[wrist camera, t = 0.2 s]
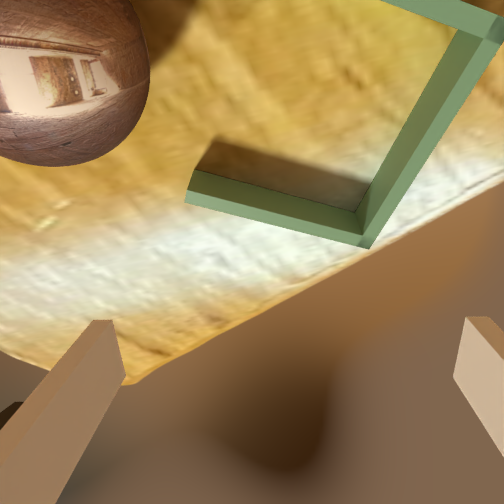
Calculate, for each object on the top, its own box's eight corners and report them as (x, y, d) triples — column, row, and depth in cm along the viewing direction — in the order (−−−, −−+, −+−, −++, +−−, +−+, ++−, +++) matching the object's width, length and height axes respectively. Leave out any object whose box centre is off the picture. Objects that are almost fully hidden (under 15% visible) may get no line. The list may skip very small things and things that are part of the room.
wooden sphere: (193, 104, 34) (155, 178, 23) (58, 140, 37) (-37, 223, 25) (118, -110, 25) (-11, -169, 13) (-54, -41, 28) (-283, -40, 16)
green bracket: (191, 181, 39) (184, 202, 36) (242, -80, 26) (238, -86, 22) (360, 225, 42) (368, 249, 39) (486, 14, 29) (516, 21, 25)
